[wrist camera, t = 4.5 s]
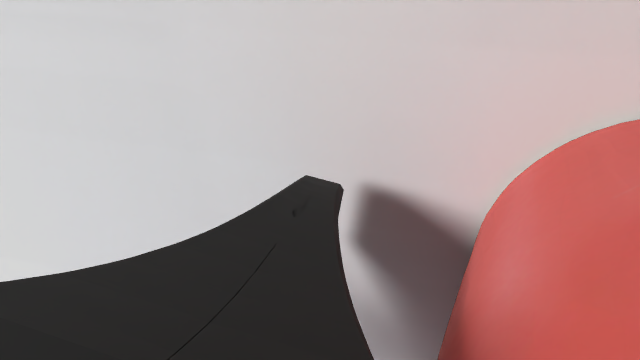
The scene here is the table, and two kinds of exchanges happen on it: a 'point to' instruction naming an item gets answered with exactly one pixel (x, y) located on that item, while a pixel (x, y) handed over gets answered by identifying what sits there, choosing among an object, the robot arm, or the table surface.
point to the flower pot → (558, 260)
